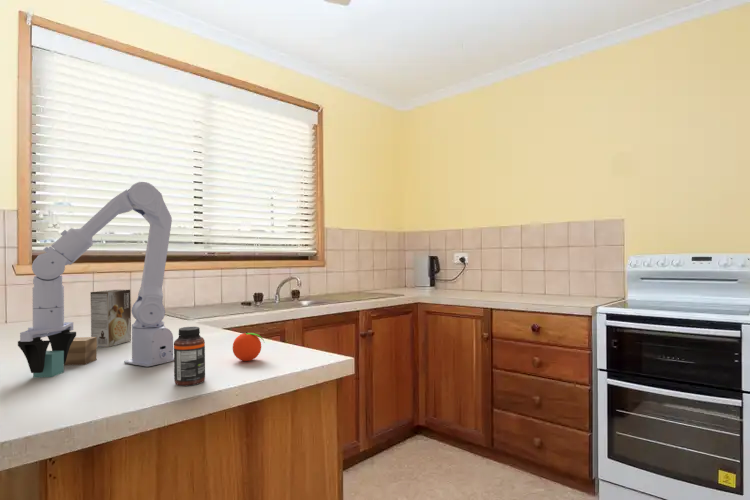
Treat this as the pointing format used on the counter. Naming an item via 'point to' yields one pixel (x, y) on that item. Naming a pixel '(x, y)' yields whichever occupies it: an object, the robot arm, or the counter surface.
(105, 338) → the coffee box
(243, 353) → the clementine
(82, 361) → the tower lower
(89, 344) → the tower upper
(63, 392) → the counter surface
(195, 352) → the supplement bottle
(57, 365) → the teal block
